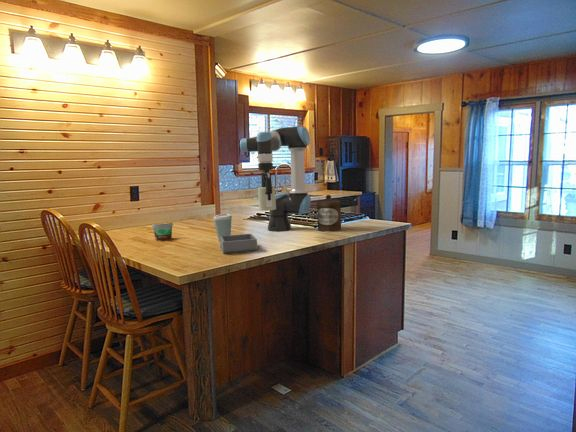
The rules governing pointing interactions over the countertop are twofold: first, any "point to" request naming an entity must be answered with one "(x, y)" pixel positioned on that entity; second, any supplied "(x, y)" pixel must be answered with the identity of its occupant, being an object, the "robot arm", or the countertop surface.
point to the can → (263, 199)
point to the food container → (163, 231)
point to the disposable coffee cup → (223, 224)
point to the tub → (238, 243)
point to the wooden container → (329, 214)
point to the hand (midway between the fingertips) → (267, 205)
